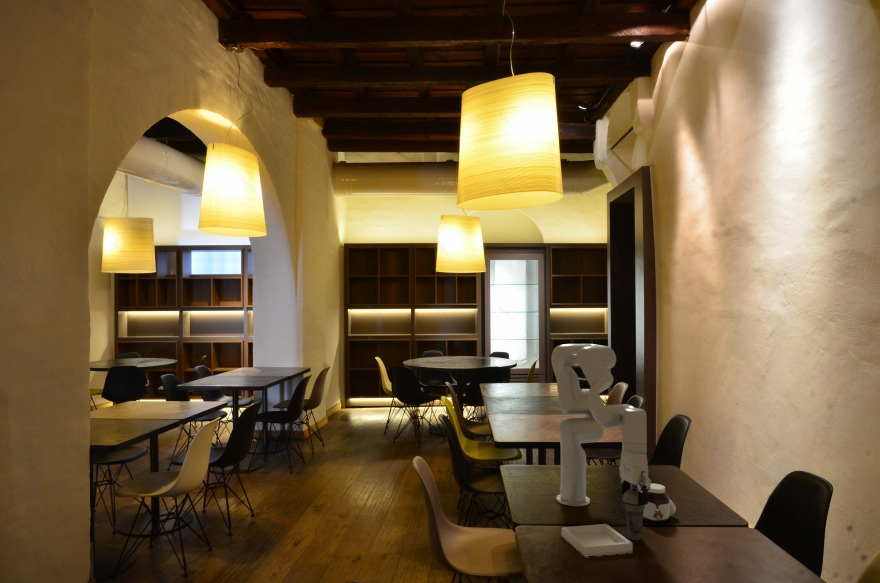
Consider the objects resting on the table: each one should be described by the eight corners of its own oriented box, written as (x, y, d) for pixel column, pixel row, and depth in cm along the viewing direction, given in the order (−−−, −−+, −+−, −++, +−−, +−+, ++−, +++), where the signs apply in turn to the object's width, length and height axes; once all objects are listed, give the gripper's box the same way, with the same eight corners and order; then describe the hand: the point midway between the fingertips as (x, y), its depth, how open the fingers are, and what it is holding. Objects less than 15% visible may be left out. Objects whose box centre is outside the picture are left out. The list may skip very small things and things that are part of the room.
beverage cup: (646, 542, 190) (647, 479, 190) (623, 540, 191) (623, 478, 191) (643, 534, 197) (644, 473, 197) (620, 532, 198) (621, 471, 199)
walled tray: (561, 536, 194) (561, 527, 194) (606, 532, 197) (606, 523, 197) (584, 557, 178) (584, 547, 178) (632, 553, 182) (632, 543, 182)
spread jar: (638, 521, 209) (639, 487, 209) (640, 510, 219) (641, 478, 219) (675, 526, 204) (676, 492, 204) (675, 515, 215) (676, 482, 215)
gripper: (610, 441, 202) (610, 492, 201) (638, 453, 185) (638, 509, 185) (630, 440, 204) (630, 491, 203) (660, 452, 187) (660, 507, 186)
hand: (634, 499), depth 194 cm, fingers open, 9 cm apart
